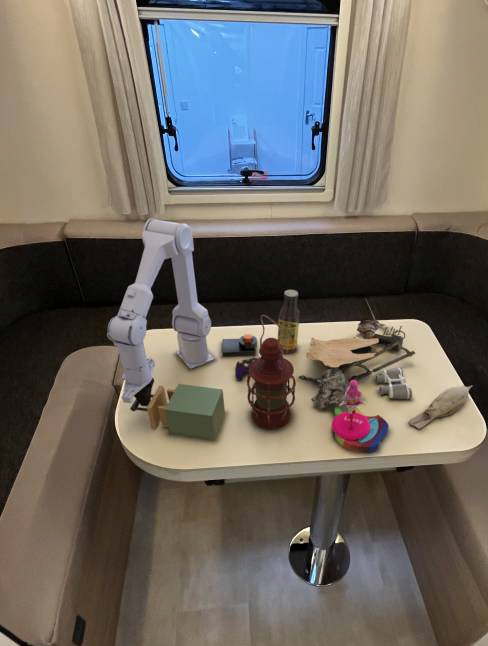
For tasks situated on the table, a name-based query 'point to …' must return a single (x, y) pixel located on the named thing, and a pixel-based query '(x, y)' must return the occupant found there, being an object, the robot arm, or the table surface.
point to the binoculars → (394, 390)
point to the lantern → (271, 384)
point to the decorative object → (371, 439)
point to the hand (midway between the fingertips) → (145, 404)
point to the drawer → (156, 407)
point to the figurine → (351, 416)
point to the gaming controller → (242, 367)
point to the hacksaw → (368, 372)
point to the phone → (356, 351)
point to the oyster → (368, 327)
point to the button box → (238, 347)
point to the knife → (309, 378)
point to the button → (247, 338)
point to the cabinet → (195, 411)
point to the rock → (331, 388)
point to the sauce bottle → (289, 321)
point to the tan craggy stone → (339, 350)
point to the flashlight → (389, 339)
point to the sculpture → (442, 405)
